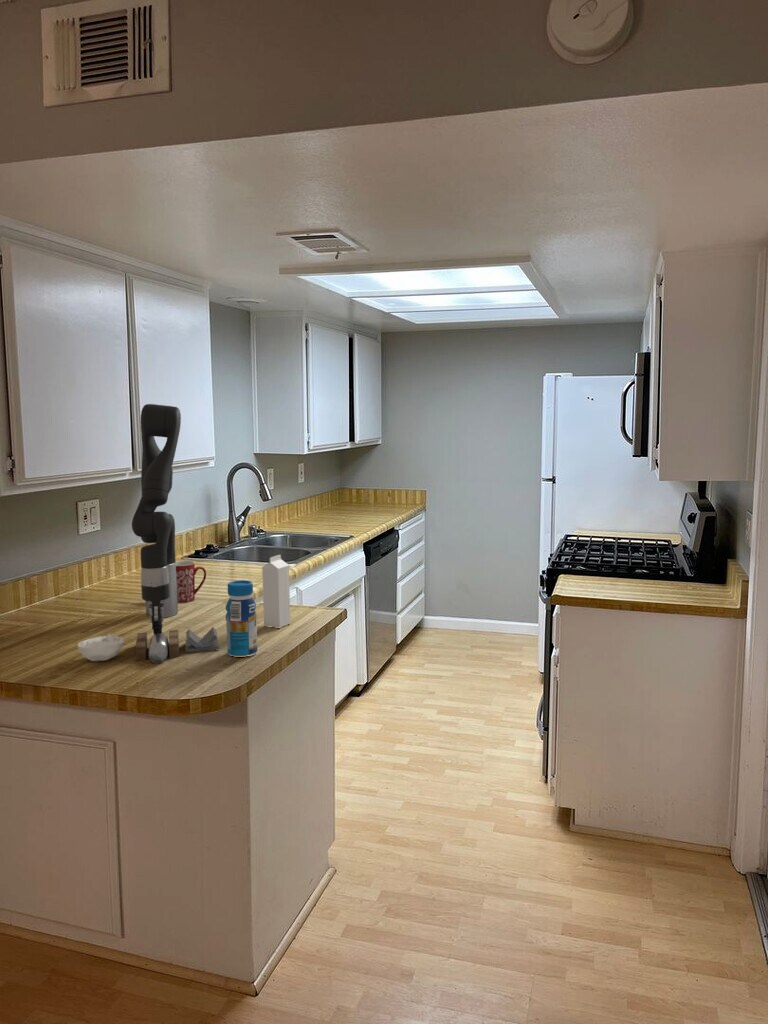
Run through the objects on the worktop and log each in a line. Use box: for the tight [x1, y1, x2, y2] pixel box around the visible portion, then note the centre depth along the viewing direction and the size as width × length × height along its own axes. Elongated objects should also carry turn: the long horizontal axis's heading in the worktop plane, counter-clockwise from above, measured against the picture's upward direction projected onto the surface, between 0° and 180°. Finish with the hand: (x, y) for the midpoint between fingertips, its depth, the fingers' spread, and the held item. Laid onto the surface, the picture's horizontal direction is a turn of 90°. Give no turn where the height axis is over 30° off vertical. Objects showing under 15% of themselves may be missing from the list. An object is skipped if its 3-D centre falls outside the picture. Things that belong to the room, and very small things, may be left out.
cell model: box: [77, 633, 126, 662], centre depth 206 cm, size 10×12×7 cm
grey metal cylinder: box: [148, 632, 169, 664], centre depth 208 cm, size 12×5×5 cm, turn 15°
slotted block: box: [134, 629, 180, 661], centre depth 213 cm, size 14×11×4 cm
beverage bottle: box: [225, 579, 258, 657], centre depth 209 cm, size 8×8×20 cm
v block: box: [184, 627, 220, 654], centre depth 216 cm, size 9×9×4 cm
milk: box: [261, 554, 291, 627], centre depth 236 cm, size 6×6×22 cm
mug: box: [176, 560, 207, 604], centre depth 269 cm, size 13×9×14 cm
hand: (158, 641), depth 216 cm, fingers closed
